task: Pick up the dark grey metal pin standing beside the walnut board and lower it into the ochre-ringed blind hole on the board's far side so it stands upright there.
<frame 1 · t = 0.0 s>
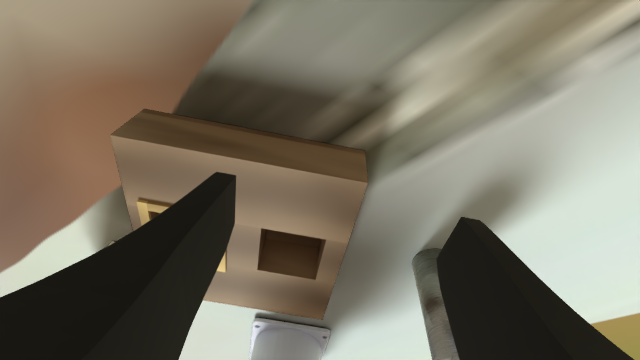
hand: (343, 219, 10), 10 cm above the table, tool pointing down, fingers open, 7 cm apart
pin: (432, 262, 26), on the table
board: (251, 211, 24), on the table
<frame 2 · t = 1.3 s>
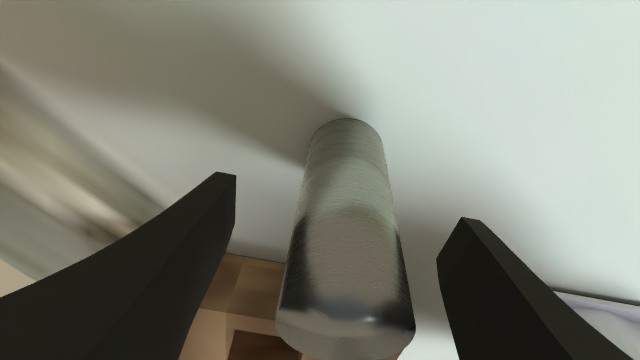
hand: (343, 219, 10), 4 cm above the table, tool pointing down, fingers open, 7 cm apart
pin: (345, 152, 14), on the table
board: (270, 326, 22), on the table
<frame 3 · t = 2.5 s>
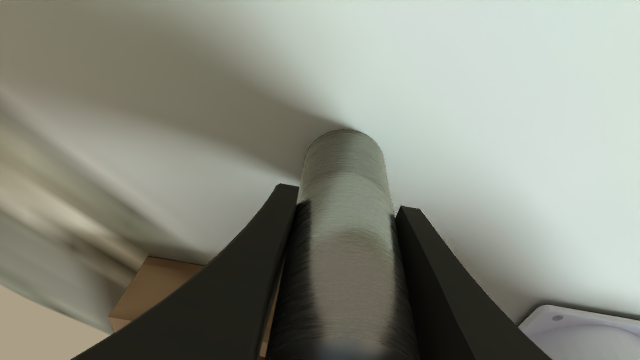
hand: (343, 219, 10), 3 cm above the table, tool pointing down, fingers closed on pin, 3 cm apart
pin: (344, 165, 13), on the table, touching gripper
board: (266, 341, 21), on the table
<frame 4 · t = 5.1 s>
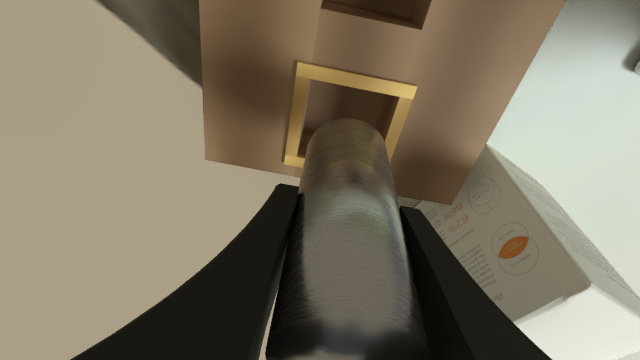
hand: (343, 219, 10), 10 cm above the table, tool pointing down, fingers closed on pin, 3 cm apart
pin: (346, 155, 13), point 7 cm above the table, touching gripper
small box: (466, 199, 22), on the table
board: (359, 37, 16), on the table
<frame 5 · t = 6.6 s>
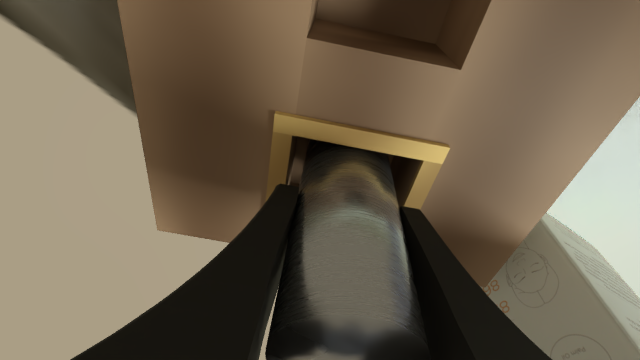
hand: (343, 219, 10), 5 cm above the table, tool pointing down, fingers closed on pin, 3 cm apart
pin: (346, 155, 13), point 1 cm above the table, touching gripper
small box: (495, 260, 18), on the table
board: (364, 68, 12), on the table
when the fingers open (5 cm above the table, at t = 7.6 s): pin stays where it is, resting on board.
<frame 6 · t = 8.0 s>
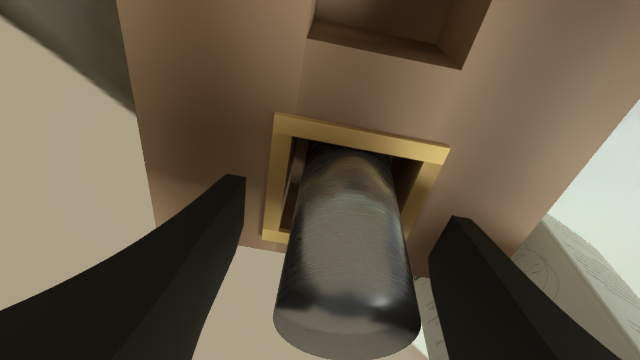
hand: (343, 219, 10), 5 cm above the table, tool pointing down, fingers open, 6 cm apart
pin: (346, 145, 13), point 1 cm above the table, touching board
small box: (495, 261, 18), on the table
board: (364, 68, 12), on the table
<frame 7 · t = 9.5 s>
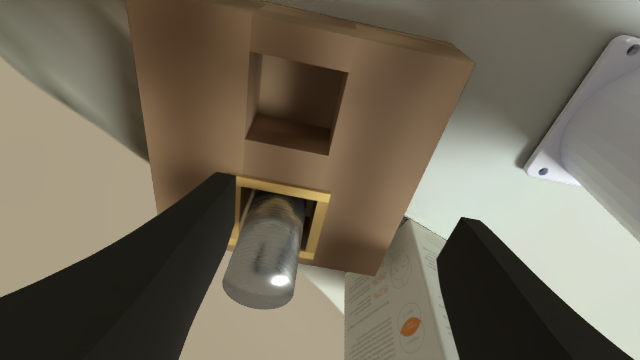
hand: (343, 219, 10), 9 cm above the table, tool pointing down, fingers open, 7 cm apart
pin: (284, 183, 21), point 1 cm above the table, touching board
small box: (400, 259, 25), on the table
board: (292, 138, 19), on the table
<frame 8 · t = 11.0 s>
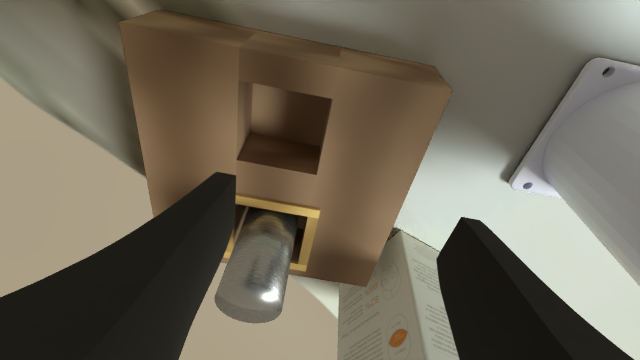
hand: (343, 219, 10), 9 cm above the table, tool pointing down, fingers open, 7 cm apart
pin: (278, 197, 21), point 1 cm above the table, touching board
small box: (393, 268, 26), on the table
board: (284, 155, 20), on the table
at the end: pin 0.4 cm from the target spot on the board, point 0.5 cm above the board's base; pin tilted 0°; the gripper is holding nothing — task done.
